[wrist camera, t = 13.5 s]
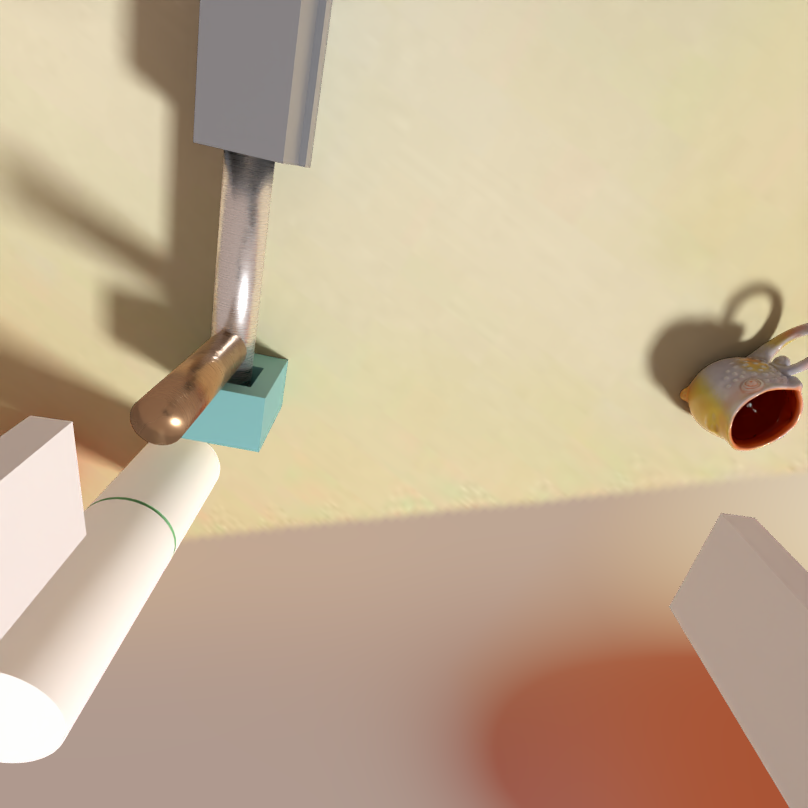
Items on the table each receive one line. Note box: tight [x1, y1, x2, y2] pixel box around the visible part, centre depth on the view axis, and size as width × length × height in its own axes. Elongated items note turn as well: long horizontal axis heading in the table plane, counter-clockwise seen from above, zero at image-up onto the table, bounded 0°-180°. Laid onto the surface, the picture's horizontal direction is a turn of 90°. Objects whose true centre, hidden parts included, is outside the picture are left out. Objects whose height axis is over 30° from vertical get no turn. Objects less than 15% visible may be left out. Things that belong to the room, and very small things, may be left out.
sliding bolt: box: [130, 150, 275, 445], centre depth 32 cm, size 3×18×15 cm, turn 168°
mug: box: [680, 323, 808, 451], centre depth 43 cm, size 12×7×7 cm, turn 141°
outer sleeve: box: [193, 0, 332, 168], centre depth 32 cm, size 6×14×8 cm, turn 168°
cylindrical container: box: [0, 438, 220, 763], centre depth 37 cm, size 7×7×25 cm
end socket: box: [181, 353, 288, 452], centre depth 41 cm, size 7×4×8 cm, turn 78°
